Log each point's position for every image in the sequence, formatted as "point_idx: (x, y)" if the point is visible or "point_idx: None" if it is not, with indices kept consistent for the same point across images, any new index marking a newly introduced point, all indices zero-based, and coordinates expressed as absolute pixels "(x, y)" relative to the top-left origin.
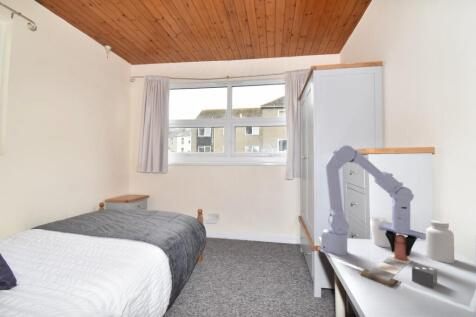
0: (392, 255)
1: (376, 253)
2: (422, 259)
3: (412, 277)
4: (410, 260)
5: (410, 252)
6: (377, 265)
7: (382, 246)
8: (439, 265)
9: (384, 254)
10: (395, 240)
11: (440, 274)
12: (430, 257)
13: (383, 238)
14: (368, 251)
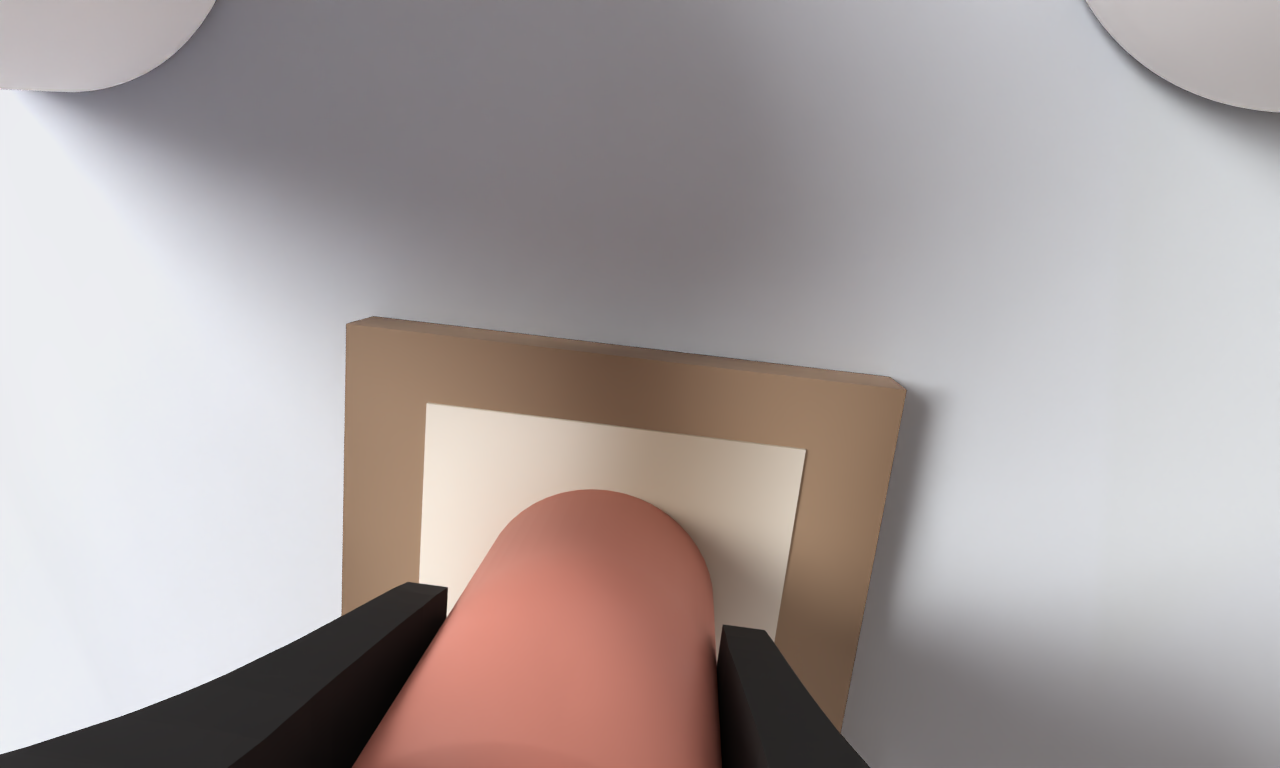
0: (433, 552)
1: (162, 488)
2: (949, 85)
3: None
4: (766, 581)
5: (785, 667)
6: None
7: (72, 79)
8: (1267, 211)
9: (283, 423)
10: (282, 746)
11: (1222, 709)
12: (1167, 35)
13: None
14: (21, 493)
